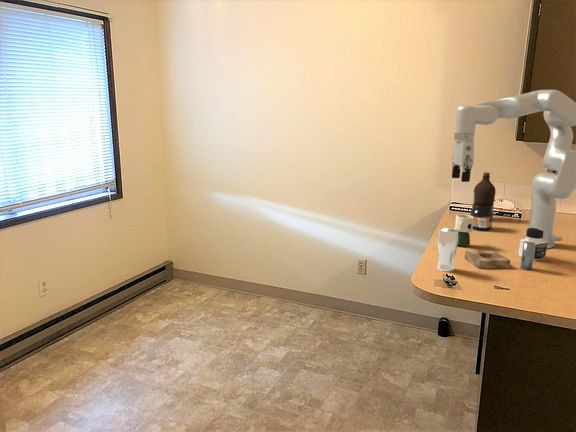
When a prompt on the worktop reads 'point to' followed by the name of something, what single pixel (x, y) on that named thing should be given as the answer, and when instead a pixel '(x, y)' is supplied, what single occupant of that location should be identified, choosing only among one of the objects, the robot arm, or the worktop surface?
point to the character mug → (464, 229)
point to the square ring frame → (487, 259)
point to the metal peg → (527, 255)
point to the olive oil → (484, 191)
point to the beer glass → (447, 248)
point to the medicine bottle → (537, 238)
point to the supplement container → (482, 216)
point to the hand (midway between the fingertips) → (460, 179)
